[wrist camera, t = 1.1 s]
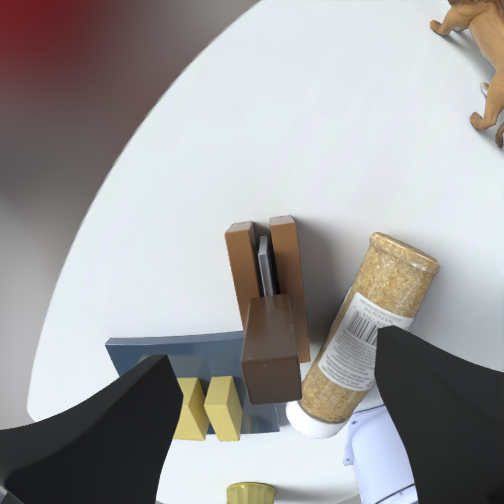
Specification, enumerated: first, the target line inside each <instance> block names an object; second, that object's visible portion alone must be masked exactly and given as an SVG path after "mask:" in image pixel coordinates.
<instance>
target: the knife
mask: <svg viewBox="0 0 504 504" xmlns="http://www.w3.org/2000/svg"><path fill="white" fill-rule="evenodd" d="M258 258H259V264H260V270H261V276H262V282H263V288H264V294H265V297H257V298H251V299H250V303H249V310H248V316H247V323H246V329H245V335H244V342H243V348H242V354H241V361H240V366H241V370H242V374H243V378H244V382H245V385H246V389H247V393H248V397H249V401H250V404H251V405H262V404H273V403H282V402H291V401H298V400H302V398H303V395H302V384H301V373H300V363H299V355H298V348H297V342H296V336H295V329H294V323H293V317H292V311H291V305H290V299H289V295H288V294H279V295H276V290H275V283H274V277H273V270H272V264H271V257H270V251H269V244H268V238H267V236H262V237H260V244H259V251H258Z"/></svg>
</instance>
